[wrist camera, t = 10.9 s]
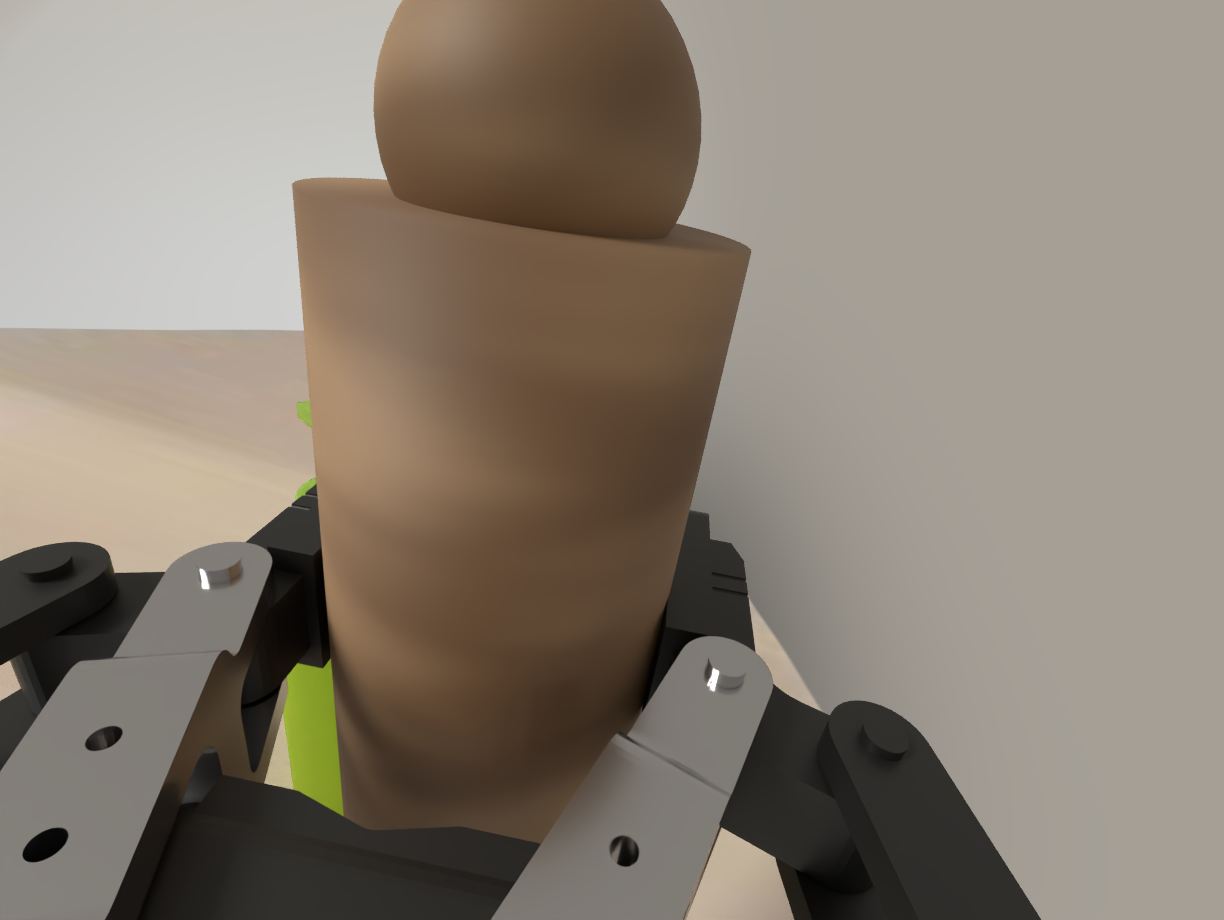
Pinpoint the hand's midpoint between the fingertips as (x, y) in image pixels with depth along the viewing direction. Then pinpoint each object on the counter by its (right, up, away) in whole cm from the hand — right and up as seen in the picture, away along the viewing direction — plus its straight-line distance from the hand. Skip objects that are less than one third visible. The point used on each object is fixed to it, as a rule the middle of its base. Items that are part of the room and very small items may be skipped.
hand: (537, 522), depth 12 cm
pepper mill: (-2, -9, +2) cm, 9 cm away
